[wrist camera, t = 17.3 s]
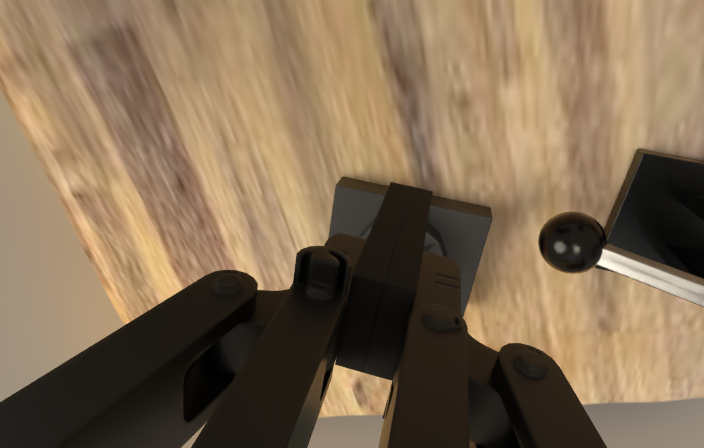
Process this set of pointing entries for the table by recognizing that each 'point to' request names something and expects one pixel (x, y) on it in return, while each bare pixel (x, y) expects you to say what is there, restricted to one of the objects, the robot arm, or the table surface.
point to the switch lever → (609, 256)
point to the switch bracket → (661, 212)
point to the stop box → (442, 228)
